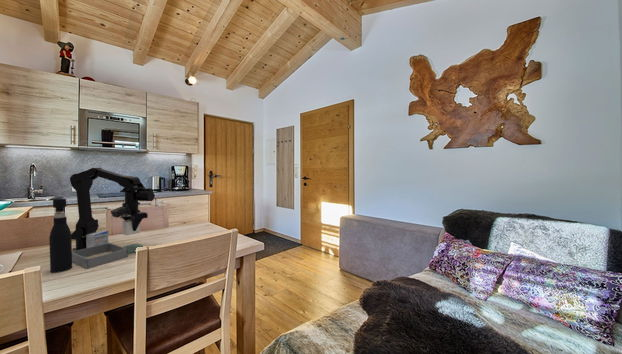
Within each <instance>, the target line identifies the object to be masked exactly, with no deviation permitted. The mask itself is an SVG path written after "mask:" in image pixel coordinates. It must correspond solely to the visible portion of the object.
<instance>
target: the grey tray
mask: <svg viewBox="0 0 622 354" xmlns="http://www.w3.org/2000/svg"><path fill="white" fill-rule="evenodd" d="M107 252H109V253H107ZM102 253H105V254H102ZM100 254H102V255H100ZM94 255H98V256H94ZM90 256H91V257H90ZM92 256H94V257H92ZM128 256H129V254H128V249H127V248H124V246H121V245H117V244H115V243H111V242H108V243H107V244H102V245H98V246H94V247H89V248H85V249H81V250H77V251H76V250H72V263H74V264H77V265H78V266H81V267H83V268H85V269H87V270H88V269H92V268H94V267H95V268H96V267H98V266H102V265H105V264H107V263H112V262H115V261H118V260H122V259H125V258H128ZM87 257H90V258H87Z"/></svg>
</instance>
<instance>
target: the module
mask: <svg viewBox="0 0 622 354" xmlns="http://www.w3.org/2000/svg"><path fill="white" fill-rule="evenodd" d="M121 225H122V235H123V236H130V235H131V236H132V235H135V234H140V233H141V223H140V224H139V226H138V227H137V229H136V231H133V228H132V222H131V221H130V220H124V219H123V220H122V224H121Z"/></svg>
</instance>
